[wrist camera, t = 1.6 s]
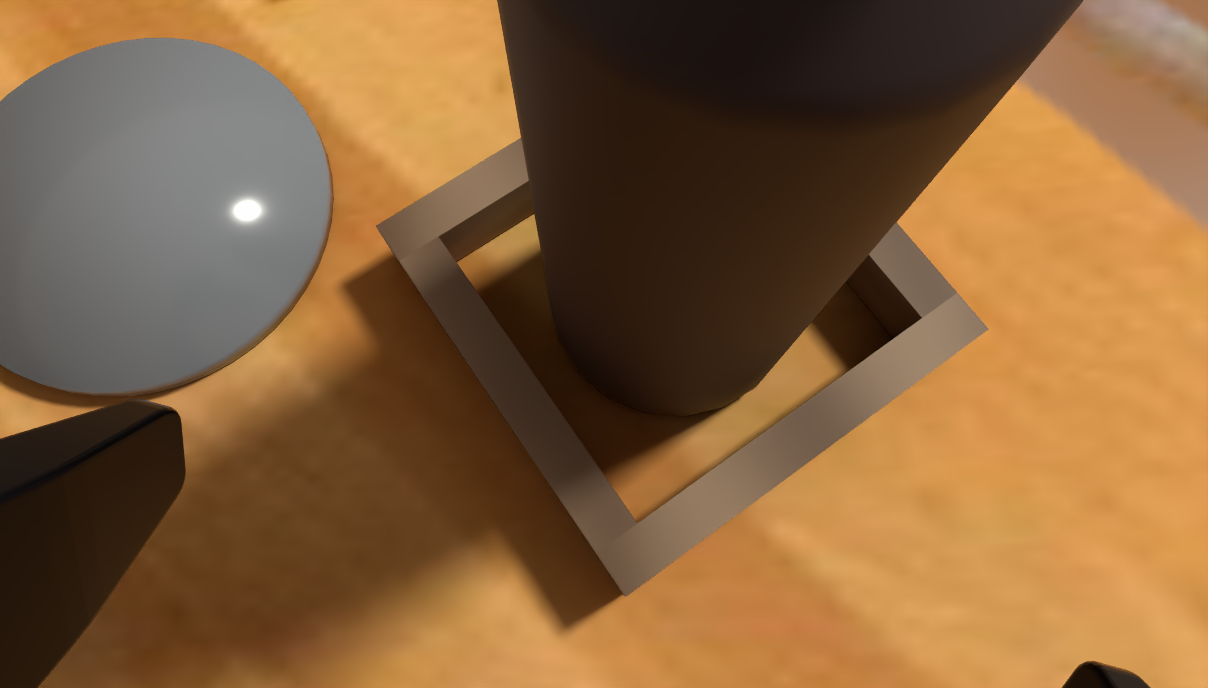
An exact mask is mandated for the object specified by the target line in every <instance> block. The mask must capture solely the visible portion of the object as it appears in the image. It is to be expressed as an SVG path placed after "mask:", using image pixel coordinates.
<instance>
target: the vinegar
mask: <svg viewBox="0 0 1208 688" xmlns="http://www.w3.org/2000/svg"><path fill="white" fill-rule="evenodd" d="M497 1H498V7H499V13H500V19H501V24H502V30H503V36H504V42H505V47H506V53H507V59H508V64H509V70H510V76H511V82H512V87H513V93H514V99H515V105H516V110H517V116H518V122H519V128H520V133H521V139H522V145H523V150H524V156H525V162H526V168H527V173H528V179H529V185H530V191H531V196H532V202H533V208H534V214H535V219H536V225H537V231H538V236H539V242H540V248H541V254H542V259H543V265H544V271H545V277H546V282H547V288H548V294H549V300H550V305H551V309H552V314H553V318H554V323H555V327H556V332H557V336H558V340H559V342H560V343H561V345H562V347H563V348H564V350H565V352H566V353H567V355H568V357H569V358H570V360H571V361H572V363H573V365H574V366H575V368H576V370H577V371H578V373H579V374H581V375H582V376H583V377H584V378H585V379H587V380H588V381H589V382H590V383H591V384H592V385H594V386H595V387H596V388H597V389H598V390H599V391H601V392H602V393H603V394H604V395H605V396H607V397H608V398H610V399H612V400H615V401H617V402H620V403H622V404H624V405H627V406H629V407H632V408H634V409H636V410H639V411H641V412H644V413H652V414H664V415H675V416H688V415H692V414H696V413H701V412H705V411H709V410H714V409H718V408H722V407H724V406H726V405H727V404H729V403H731V402H732V401H734V400H736V399H737V398H739V397H741V396H742V395H744V394H746V393H747V392H749V391H750V390H752V389H754V388H755V387H756V386H757V385H758V384H759V383H760V382H761V380H762V379H763V378H764V377H765V376H766V374H767V373H768V372H769V371H770V370H771V369H772V367H773V366H774V365H775V364H776V363H777V362H778V360H779V359H780V358H781V357H782V356H783V355H784V353H785V352H786V351H787V350H788V349H789V348H790V346H791V345H792V344H793V343H794V342H795V340H796V339H797V338H798V337H799V336H800V335H801V333H802V332H803V331H804V330H805V329H806V328H807V326H808V325H809V324H810V323H811V322H812V321H813V319H814V318H815V317H816V316H817V315H818V313H819V312H820V311H821V310H822V309H823V308H824V306H825V305H826V304H827V303H828V302H829V301H830V299H831V298H832V297H833V296H834V295H835V294H836V292H837V291H838V290H839V289H840V288H841V286H842V285H843V284H844V283H845V282H846V281H847V279H848V278H849V277H850V276H851V275H852V274H853V272H854V271H855V270H856V269H857V268H858V267H859V265H860V264H861V263H862V262H863V261H864V260H865V258H866V257H867V256H868V255H869V254H870V252H871V251H872V250H873V249H874V248H875V247H876V245H877V244H878V243H879V242H880V241H881V240H882V238H883V237H884V236H885V235H886V234H887V233H888V231H889V230H890V229H891V228H892V227H893V225H894V224H895V223H896V222H897V221H898V220H899V218H900V217H901V216H902V215H903V214H904V213H905V211H906V210H907V209H908V208H909V207H910V206H911V204H912V203H913V202H914V201H915V200H916V198H917V197H918V196H919V195H920V194H921V193H922V191H923V190H924V189H925V188H926V187H927V186H928V184H929V183H930V182H931V181H932V180H933V179H934V177H935V176H936V175H937V174H938V173H939V172H940V170H941V169H942V168H943V167H944V166H945V164H946V163H947V162H948V161H949V160H950V159H951V157H952V156H953V155H954V154H955V153H956V152H957V150H958V149H959V148H960V147H961V146H962V145H963V143H964V142H965V141H966V140H967V139H968V137H969V136H970V135H971V134H972V133H973V132H974V130H975V129H976V128H977V127H978V126H979V125H980V123H981V122H982V121H983V120H984V119H985V118H986V116H987V115H988V114H989V113H990V112H991V110H992V109H993V108H994V107H995V106H996V105H997V103H998V102H999V101H1000V100H1001V99H1002V98H1003V96H1004V95H1005V94H1006V93H1007V92H1008V91H1009V89H1010V88H1011V87H1012V86H1013V85H1014V84H1015V82H1016V81H1017V80H1018V79H1019V78H1020V76H1021V75H1022V74H1023V73H1024V72H1025V70H1026V69H1027V68H1028V67H1029V66H1030V65H1031V63H1032V62H1033V61H1034V60H1035V59H1036V57H1037V56H1038V55H1039V54H1040V52H1041V51H1042V50H1043V49H1044V48H1045V47H1046V45H1047V44H1048V43H1049V42H1050V40H1051V39H1052V38H1053V37H1054V36H1055V34H1056V33H1057V32H1058V31H1059V30H1060V28H1061V27H1062V26H1063V25H1064V24H1065V22H1066V21H1067V20H1068V19H1069V18H1070V16H1071V15H1072V14H1073V13H1074V12H1075V10H1076V9H1077V8H1078V7H1079V6H1080V4H1081V3H1082V1H1083V0H497Z"/></svg>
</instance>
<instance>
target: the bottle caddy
mask: <svg viewBox="0 0 1208 688" xmlns="http://www.w3.org/2000/svg"><path fill="white" fill-rule="evenodd" d="M533 213H534V208H533V202H532V196H531V191H530V185H529V179H528V173H527V168H526V162H525V156H524V150H523V145H522V139H521V138H520V139H518V140H517V141H515V142H513V143H512V144H510V145H508V146H507V147H505V148H503V149H502V150H500V151H498V152H497V153H495V154H494V155H492V156H490V157H489V158H487V159H485V160H484V161H482V162H480V163H479V164H477V165H475V166H474V167H472V168H470V169H469V170H467V171H465V172H464V173H462V174H461V175H459V176H457V177H456V178H454V179H452V180H451V181H449V182H447V183H446V184H444V185H442V186H441V187H439V188H437V189H436V190H434V191H432V192H431V193H429V194H428V195H426V196H424V197H423V198H421V199H419V200H418V201H416V202H414V203H413V204H411V205H409V206H408V207H406V208H404V209H403V210H401V211H400V212H398V213H396V214H395V215H393V216H391V217H390V218H388V219H386V220H385V221H383V222H381V223H380V224H378V225H376V227H377V229H378V230H379V232H380V234H381V235H382V237H383V238H384V240H385V241H386V243H387V245H388V246H389V248H390V249H391V251H392V252H393V254H394V255H395V257H396V258H397V260H398V261H399V263H400V264H401V266H402V267H403V269H404V270H405V272H406V273H407V275H408V276H409V278H410V279H411V281H412V282H413V284H414V285H415V287H416V288H417V290H418V291H419V293H420V294H421V296H422V297H423V299H424V300H425V301H426V303H427V304H428V306H429V307H430V309H431V310H432V312H433V313H434V315H435V316H436V318H437V319H438V321H439V322H440V324H441V325H442V327H443V328H444V330H445V331H446V333H447V334H448V336H449V337H450V339H451V340H452V342H453V343H454V345H455V346H456V347H457V349H458V350H459V352H460V353H461V355H462V356H463V358H464V359H465V361H466V362H467V364H468V365H469V367H470V368H471V370H472V371H473V373H474V374H475V376H476V377H477V379H478V380H479V382H480V383H481V385H482V386H483V388H484V389H485V391H486V392H487V393H488V395H489V396H490V398H491V399H492V401H493V402H494V404H495V405H496V407H497V408H498V410H499V411H500V413H501V414H502V416H503V417H504V419H505V420H506V422H507V423H508V425H509V426H510V428H511V429H512V431H513V432H514V434H515V435H516V437H517V438H518V439H519V441H520V442H521V444H522V445H523V447H524V448H525V450H526V451H527V453H528V454H529V456H530V457H531V459H532V460H533V462H534V463H535V465H536V466H537V468H538V469H539V471H540V472H541V474H542V475H543V477H544V478H545V480H546V481H547V483H548V484H549V485H550V487H551V488H552V490H553V491H554V493H555V494H556V496H557V497H558V499H559V500H560V502H561V503H562V505H563V506H564V508H565V509H566V511H567V512H568V514H569V515H570V517H571V518H572V520H573V521H574V523H575V524H576V526H577V527H578V529H579V530H580V531H581V533H582V534H583V536H584V537H585V539H586V540H587V542H588V543H589V545H590V546H591V548H592V549H593V551H594V552H595V554H596V555H597V557H598V558H599V560H600V561H601V563H602V564H603V566H604V567H605V569H606V570H607V572H608V573H609V575H610V576H611V577H612V579H613V580H614V582H615V583H616V585H617V586H618V588H619V589H620V591H621V592H622V594H623V595H624V596H625V597H626V596H628V595H629V594H630V593H632V592H633V591H634V590H636V589H637V588H638V587H640V586H641V585H642V584H644V583H645V582H646V581H648V580H649V579H651V578H652V577H653V576H655V575H656V574H657V573H659V572H660V571H661V570H663V569H664V568H665V567H667V566H668V565H670V564H671V563H672V562H674V561H675V560H676V559H678V558H679V557H680V556H682V555H683V554H684V553H686V552H687V551H689V550H690V549H691V548H693V547H694V546H695V545H697V544H698V543H699V542H701V541H702V540H703V539H705V538H706V537H708V536H709V535H710V534H712V533H713V532H714V531H716V530H717V529H718V528H720V527H721V526H722V525H724V524H725V523H727V522H728V521H729V520H731V519H732V518H733V517H735V516H736V515H737V514H739V513H740V512H741V511H743V510H744V509H746V508H747V507H748V506H750V505H751V504H752V503H754V502H755V501H756V500H758V499H759V498H760V497H762V496H763V495H764V494H766V493H767V492H769V491H770V490H771V489H773V488H774V487H775V486H777V485H778V484H779V483H781V482H782V481H783V480H785V479H786V478H788V477H789V476H790V475H792V474H793V473H794V472H796V471H797V470H798V469H800V468H801V467H802V466H804V465H805V464H807V463H808V462H809V461H811V460H812V459H813V458H815V457H816V456H817V455H819V454H820V453H821V452H823V451H824V450H826V449H827V448H828V447H830V446H831V445H832V444H834V443H835V442H836V441H838V440H839V439H840V438H842V437H843V436H845V435H846V434H847V433H849V432H850V431H851V430H853V429H854V428H855V427H857V426H858V425H859V424H861V423H862V422H864V421H865V420H866V419H868V418H869V417H870V416H872V415H873V414H874V413H876V412H877V411H878V410H880V409H881V408H882V407H884V406H885V405H887V404H888V403H889V402H891V401H892V400H893V399H895V398H896V397H897V396H899V395H900V394H901V393H903V392H904V391H906V390H907V389H908V388H910V387H911V386H912V385H914V384H915V383H916V382H918V381H919V380H920V379H922V378H923V377H925V376H926V375H927V374H929V373H930V372H931V371H933V370H934V369H935V368H937V367H938V366H939V365H941V364H942V363H944V362H945V361H946V360H948V359H949V358H950V357H952V356H953V355H954V354H956V353H957V352H958V351H960V350H961V349H963V348H964V347H965V346H967V345H968V344H969V343H971V342H972V341H973V340H975V339H976V338H977V337H979V336H980V335H982V334H983V333H984V332H986V331H987V330H988V328H987V326H986V325H985V324H984V323H983V322H982V321H981V320H980V318H979V317H978V316H977V315H976V314H975V313H974V311H973V310H972V309H971V308H970V307H969V306H968V305H967V303H966V302H965V301H964V300H963V299H962V298H961V296H960V295H959V294H958V293H957V292H956V291H955V289H954V288H953V287H952V286H951V285H950V284H949V283H948V281H947V280H946V279H945V278H944V277H943V276H942V274H941V273H940V272H939V271H938V270H937V269H936V268H935V266H934V265H933V264H932V263H931V262H930V261H929V259H928V258H927V257H926V256H925V255H924V254H923V252H922V251H921V250H920V249H919V248H918V247H917V246H916V244H915V243H914V242H913V241H912V240H911V239H910V237H909V236H908V235H907V234H906V233H905V232H904V231H903V229H902V228H901V227H900V226H899V225H898V224H897V222H896V223H895V224H894V225H893V227H892V228H891V229H890V230H889V231H888V233H887V234H886V235H885V236H884V237H883V238H882V240H881V241H880V242H879V243H878V244H877V245H876V247H875V248H874V249H873V250H872V251H871V252H870V254H869V255H868V256H867V257H866V258H865V260H864V261H863V262H862V263H861V264H860V265H859V267H858V268H857V269H856V270H855V271H854V272H853V274H852V275H851V276H850V277H849V278H848V279H847V281H846V282H847V283H848V284H849V285H850V286H851V288H852V289H853V290H854V291H855V293H856V294H857V295H858V296H859V297H860V299H861V300H862V301H863V302H864V303H865V305H866V306H867V307H868V308H869V309H870V311H871V312H872V313H873V314H874V315H875V317H876V318H877V319H878V320H879V321H880V323H881V324H882V325H883V326H884V328H885V329H886V330H887V331H888V332H889V334H890V335H891V336H892V337H893V338H894V339H893V340H891V341H890V342H888V343H887V344H886V345H884V346H883V347H881V348H880V349H879V350H877V351H876V352H875V353H873V354H872V355H870V356H869V357H868V358H866V359H865V360H863V361H862V362H861V363H859V364H858V365H856V366H855V367H854V368H852V369H851V370H850V371H848V372H847V373H845V374H844V375H843V376H841V377H840V378H838V379H837V380H836V381H834V382H833V383H832V384H830V385H829V386H827V387H826V388H825V389H823V390H822V391H820V392H819V393H818V394H816V395H815V396H814V397H812V398H811V399H809V400H808V401H807V402H805V403H804V404H802V405H801V406H800V407H798V408H797V409H795V410H794V411H793V412H791V413H790V414H789V415H787V416H786V417H784V418H783V419H782V420H780V421H779V422H777V423H776V424H775V425H773V426H772V427H771V428H769V429H768V430H766V431H765V432H764V433H762V434H761V435H759V436H758V437H757V438H755V439H754V440H752V441H751V442H750V443H748V444H747V445H746V446H744V447H743V448H741V449H740V450H739V451H737V452H736V453H734V454H733V455H732V456H730V457H729V458H728V459H726V460H725V461H723V462H722V463H721V464H719V465H718V466H716V467H715V468H714V469H712V470H711V471H709V472H708V473H707V474H705V475H704V476H703V477H701V478H700V479H698V480H697V481H696V482H694V483H693V484H691V485H690V486H689V487H687V488H686V489H685V490H683V491H682V492H680V493H679V494H678V495H676V496H675V497H673V498H672V499H671V500H669V501H668V502H666V503H665V504H664V505H662V506H661V507H660V508H658V509H657V510H655V511H654V512H653V513H651V514H650V515H648V516H647V517H646V518H644V519H643V520H642V521H640V522H639V523H637V522H636V520H635V519H634V517H633V516H632V515H631V513H630V512H629V510H628V509H627V507H626V506H625V505H624V503H623V502H622V500H621V499H620V497H619V496H618V494H617V493H616V492H615V490H614V489H613V487H612V486H611V484H610V483H609V481H608V480H607V479H606V477H605V476H604V474H603V473H602V471H601V470H600V469H599V467H598V466H597V464H596V463H595V461H594V460H593V458H592V457H591V456H590V454H589V453H588V451H587V450H586V448H585V447H584V445H583V444H582V443H581V441H580V440H579V438H578V437H577V435H576V434H575V433H574V431H573V430H572V428H571V427H570V425H569V424H568V422H567V421H566V420H565V418H564V417H563V415H562V414H561V412H560V411H559V409H558V408H557V407H556V405H555V404H554V402H553V401H552V399H551V398H550V397H549V395H548V394H547V392H546V391H545V389H544V388H543V386H542V385H541V384H540V382H539V381H538V379H537V378H536V376H535V375H534V373H533V372H532V371H531V369H530V368H529V366H528V365H527V363H526V362H525V361H524V359H523V358H522V356H521V355H520V353H519V352H518V350H517V349H516V348H515V346H514V345H513V343H512V342H511V340H510V339H509V337H508V336H507V335H506V333H505V332H504V330H503V329H502V327H501V326H500V325H499V323H498V322H497V320H496V319H495V317H494V316H493V314H492V313H491V312H490V310H489V309H488V307H487V306H486V304H485V303H484V301H483V300H482V299H481V297H480V296H479V294H478V293H477V291H476V290H475V289H474V287H473V286H472V284H471V283H470V281H469V280H468V278H467V277H466V276H465V274H464V273H463V271H462V270H461V268H460V267H459V265H458V264H457V263H456V262H457V261H458V260H460V259H461V258H463V257H465V256H466V255H468V254H469V253H471V252H473V251H474V250H476V249H477V248H479V247H481V246H482V245H484V244H485V243H487V242H489V241H490V240H492V239H493V238H495V237H497V236H498V235H500V234H501V233H503V232H505V231H506V230H508V229H509V228H511V227H513V226H514V225H516V224H517V223H519V222H521V221H522V220H524V219H525V218H527V217H528V216H530V215H532V214H533Z"/></svg>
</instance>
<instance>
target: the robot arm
mask: <svg viewBox="0 0 1208 688" xmlns="http://www.w3.org/2000/svg"><path fill="white" fill-rule="evenodd" d="M185 470H186V469H185V458H184V447H183V435H182V424H181V418H180V416H179V414H178V412H177V411H176V410H174V409H173V408H171V407H168V406H165V405H161V404H158V403H154V402H150V401H147V400H142V399H131V400H127V401H124V402H121V403H117V404H114V405H111V406H107V407H104V408H101V409H97V410H94V411H91V412H87V413H84V414H81V415H77V416H74V417H71V418H67V419H64V420H61V421H57V422H54V423H51V424H48V425H44V426H41V427H38V428H34V429H31V430H28V431H24V432H21V433H18V434H14V435H11V436H8V437H4V438H1V439H0V688H38V687H39V686H40V684H41V683H42V682H43V681H44V680H45V678H46V677H47V676H48V675H49V674H50V672H51V671H52V670H53V669H54V668H55V666H56V665H57V664H58V663H59V662H60V660H61V659H62V658H63V657H64V656H65V654H66V653H67V652H68V651H69V650H70V648H71V647H72V646H73V645H74V644H75V642H76V641H77V640H78V639H79V637H80V636H81V635H82V634H83V632H84V631H85V630H86V629H87V627H88V626H89V625H90V624H91V622H92V621H93V619H94V618H95V617H96V615H97V614H98V612H99V611H100V610H101V608H102V607H103V606H104V604H105V603H106V601H107V600H108V598H109V597H110V595H111V594H112V592H113V591H114V590H115V588H116V587H117V585H118V584H119V582H120V581H121V579H122V578H123V576H124V575H125V573H126V572H127V570H128V569H129V567H130V566H131V564H132V563H133V562H134V560H135V559H136V557H137V556H138V554H139V553H140V551H141V550H142V548H143V547H144V545H145V544H146V542H147V541H148V539H149V538H150V536H151V535H152V534H153V532H154V531H155V529H156V528H157V526H158V525H159V523H160V522H161V520H162V519H163V517H164V516H165V514H166V513H167V511H168V510H169V508H170V507H171V506H172V504H173V503H174V501H175V500H176V498H177V496H178V495H179V493H180V491H181V489H182V486H183V483H184V480H185ZM1062 688H1150V687H1149V686H1148V685H1147V684H1146V683H1145V682H1144V681H1143V680H1142V679H1141V678H1140V677H1139V676H1138V675H1136V674H1134V673H1132V672H1130V671H1128V670H1125V669H1121V668H1117V667H1114V666H1110V665H1107V664H1103V663H1099V662H1095V661H1087V662H1084V663H1082V664H1081V665H1079V666H1078V667H1077V668H1076V669H1075V671H1074V672H1073V673H1072V675H1071V676H1070V677H1069V679H1068V680H1067V681H1066V683H1065V684H1064V685H1063V687H1062Z"/></svg>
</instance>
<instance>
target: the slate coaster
mask: <svg viewBox="0 0 1208 688" xmlns="http://www.w3.org/2000/svg"><path fill="white" fill-rule="evenodd" d="M333 200H334V196H333V181H332V173H331V169H330V164H329V160H328V155H327V153H326V150H325V147H324V145H323V142H322V140H321V137H320V135H319V133H318V131H317V130H316V128H315V126H314V124H313V123H312V121H311V119H310V117H309V116H308V114H307V113H306V111H305V109H304V108H303V106H302V105H301V104H300V103H299V101H298V100H297V99H296V98H295V96H294V95H293V94H292V92H291V91H290V90H289V89H288V88H287V87H286V86H285V85H284V84H283V83H282V82H281V81H279V80H278V79H277V78H276V77H275V76H274V75H273V74H271V73H270V72H268V71H267V70H266V69H264V68H263V67H261V66H260V65H258V64H257V63H255V62H253V61H252V60H250V59H248V58H246V57H244V56H242V55H240V54H238V53H236V52H233V51H230V50H227V49H224V48H222V47H219V46H216V45H212V44H207V43H203V42H198V41H194V40H185V39H175V38H144V39H136V40H127V41H120V42H116V43H112V44H107V45H103V46H99V47H96V48H93V49H90V50H87V51H84V52H81V53H78V54H75V55H73V56H71V57H68V58H66V59H64V60H62V61H60V62H58V63H55V64H53V65H51V66H49V67H48V68H46V69H44V70H43V71H41V72H39V73H38V74H36V75H34V76H33V77H31V78H29V79H28V80H27V81H25V82H24V83H23V84H21V85H20V86H19V87H17V88H16V89H15V90H13V91H12V92H11V93H9V94H8V95H7V96H6V97H5V98H4V99H3V100H2V101H0V365H2V366H3V367H5V368H7V369H8V370H10V371H12V372H13V373H15V374H18V375H20V376H23V377H25V378H27V379H30V380H32V381H35V382H37V383H40V384H43V385H46V386H49V387H52V388H55V389H59V390H63V391H67V392H71V393H75V394H81V395H90V396H99V397H126V396H136V395H143V394H150V393H157V392H160V391H164V390H168V389H172V388H175V387H179V386H183V385H185V384H188V383H190V382H193V381H195V380H198V379H200V378H203V377H205V376H208V375H210V374H212V373H213V372H215V371H217V370H219V369H221V368H223V367H225V366H226V365H228V364H230V363H232V362H234V361H235V360H236V359H238V358H239V357H241V356H242V355H244V354H245V353H246V352H248V351H249V350H251V349H252V348H254V347H255V346H256V345H257V344H258V343H259V342H261V341H262V340H263V339H264V338H265V337H266V336H267V335H268V334H270V333H271V332H272V331H273V330H274V329H275V328H276V327H277V326H278V325H279V324H280V323H281V321H282V320H283V319H284V318H285V317H286V316H287V315H288V314H289V312H290V311H291V310H292V309H293V308H294V306H295V305H296V303H297V302H298V300H299V299H300V297H301V296H302V295H303V293H304V292H305V290H306V289H307V287H308V285H309V283H310V281H311V279H312V278H313V276H314V274H315V272H316V270H317V268H318V266H319V263H320V261H321V258H322V255H323V253H324V250H325V247H326V244H327V240H328V236H329V231H330V227H331V222H332V213H333Z"/></svg>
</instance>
